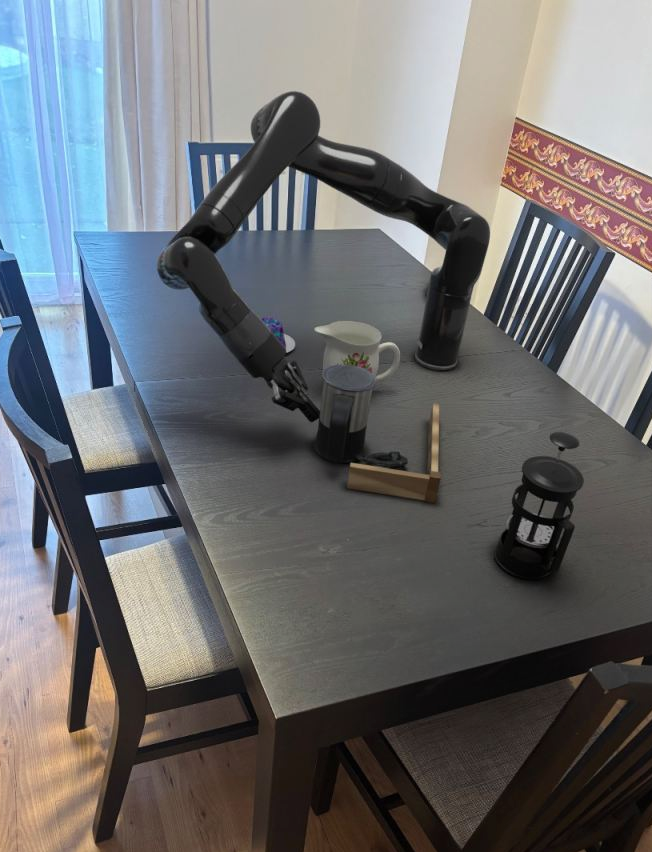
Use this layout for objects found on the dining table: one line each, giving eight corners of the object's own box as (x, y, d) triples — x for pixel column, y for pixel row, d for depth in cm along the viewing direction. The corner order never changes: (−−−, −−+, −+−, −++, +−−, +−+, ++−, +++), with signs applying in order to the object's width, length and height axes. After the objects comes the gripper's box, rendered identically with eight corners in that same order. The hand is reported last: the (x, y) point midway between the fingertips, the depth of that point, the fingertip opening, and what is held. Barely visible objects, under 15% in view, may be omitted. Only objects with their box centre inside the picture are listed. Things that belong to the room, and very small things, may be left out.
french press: (479, 545, 125) (515, 423, 111) (525, 533, 129) (566, 413, 115) (524, 594, 117) (569, 469, 103) (571, 579, 121) (621, 456, 107)
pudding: (261, 362, 164) (262, 339, 161) (228, 339, 171) (229, 317, 167) (306, 350, 171) (308, 328, 168) (272, 328, 178) (274, 306, 174)
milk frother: (310, 434, 145) (318, 362, 136) (393, 435, 148) (406, 365, 139) (321, 480, 134) (330, 405, 125) (410, 480, 137) (425, 407, 128)
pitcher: (401, 406, 157) (412, 343, 149) (313, 407, 153) (320, 342, 144) (386, 379, 165) (397, 318, 157) (302, 379, 161) (308, 316, 152)
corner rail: (360, 412, 153) (363, 389, 150) (436, 424, 153) (441, 401, 150) (346, 489, 133) (350, 464, 130) (434, 503, 133) (440, 478, 130)
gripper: (244, 338, 139) (306, 410, 146) (227, 372, 128) (294, 448, 135) (276, 315, 135) (337, 389, 143) (261, 348, 125) (328, 427, 132)
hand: (316, 418), depth 139 cm, fingers closed
